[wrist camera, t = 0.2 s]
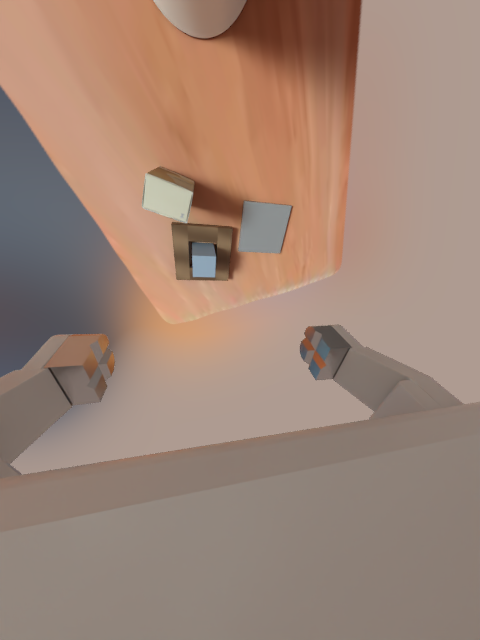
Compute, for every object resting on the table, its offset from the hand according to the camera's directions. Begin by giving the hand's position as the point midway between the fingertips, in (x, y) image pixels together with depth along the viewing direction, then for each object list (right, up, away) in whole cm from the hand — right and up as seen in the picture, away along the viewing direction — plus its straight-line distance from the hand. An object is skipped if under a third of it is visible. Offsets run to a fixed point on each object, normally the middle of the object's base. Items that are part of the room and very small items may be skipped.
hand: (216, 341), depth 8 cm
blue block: (-7, +16, +36) cm, 40 cm away
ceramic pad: (+6, +21, +35) cm, 41 cm away
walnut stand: (-7, +16, +36) cm, 40 cm away
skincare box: (-11, +25, +28) cm, 39 cm away
